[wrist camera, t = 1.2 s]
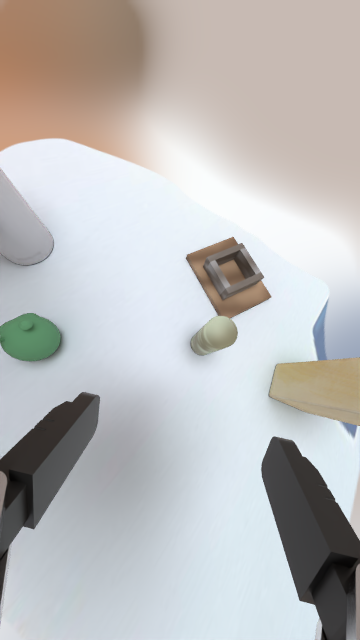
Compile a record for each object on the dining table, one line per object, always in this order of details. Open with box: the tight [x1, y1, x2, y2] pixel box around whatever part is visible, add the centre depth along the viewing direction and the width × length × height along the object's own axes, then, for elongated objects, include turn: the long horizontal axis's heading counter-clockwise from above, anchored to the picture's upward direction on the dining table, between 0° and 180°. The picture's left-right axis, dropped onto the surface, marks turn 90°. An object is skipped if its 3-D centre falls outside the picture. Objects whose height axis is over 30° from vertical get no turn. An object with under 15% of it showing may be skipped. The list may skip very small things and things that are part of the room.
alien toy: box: [0, 313, 60, 361], centre depth 30 cm, size 7×8×10 cm
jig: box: [186, 237, 271, 319], centre depth 40 cm, size 16×12×5 cm
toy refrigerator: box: [269, 358, 360, 426], centre depth 28 cm, size 8×7×21 cm
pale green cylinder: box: [191, 316, 238, 355], centre depth 32 cm, size 4×4×12 cm
